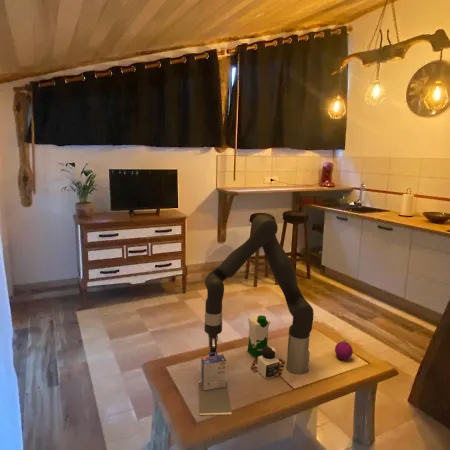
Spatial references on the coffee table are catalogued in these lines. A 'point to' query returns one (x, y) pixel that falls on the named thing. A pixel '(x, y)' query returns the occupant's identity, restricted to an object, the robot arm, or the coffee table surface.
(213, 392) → the mat
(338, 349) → the christmas ornament
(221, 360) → the ink cartridge box
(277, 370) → the medicine bottle
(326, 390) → the coffee table surface
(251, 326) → the milk carton
